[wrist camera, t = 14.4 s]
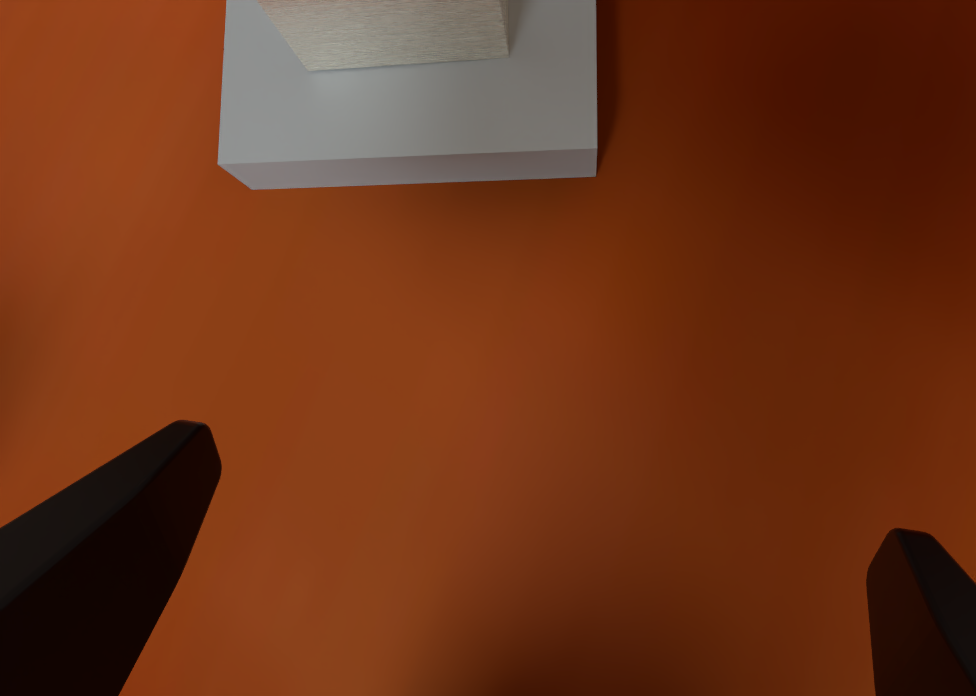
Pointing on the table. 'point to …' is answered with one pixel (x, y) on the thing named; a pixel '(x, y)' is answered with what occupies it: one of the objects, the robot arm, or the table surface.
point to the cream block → (390, 31)
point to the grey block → (412, 108)
